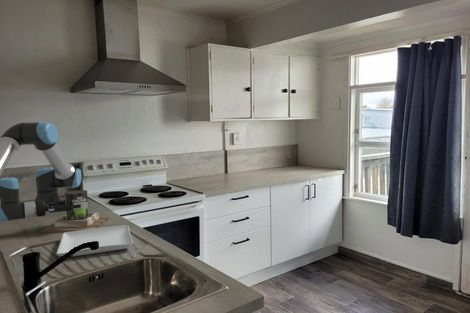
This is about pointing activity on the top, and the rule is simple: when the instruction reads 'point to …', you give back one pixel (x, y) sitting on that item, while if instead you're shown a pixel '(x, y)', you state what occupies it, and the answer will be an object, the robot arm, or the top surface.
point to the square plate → (105, 236)
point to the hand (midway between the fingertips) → (86, 202)
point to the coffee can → (76, 197)
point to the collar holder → (76, 223)
